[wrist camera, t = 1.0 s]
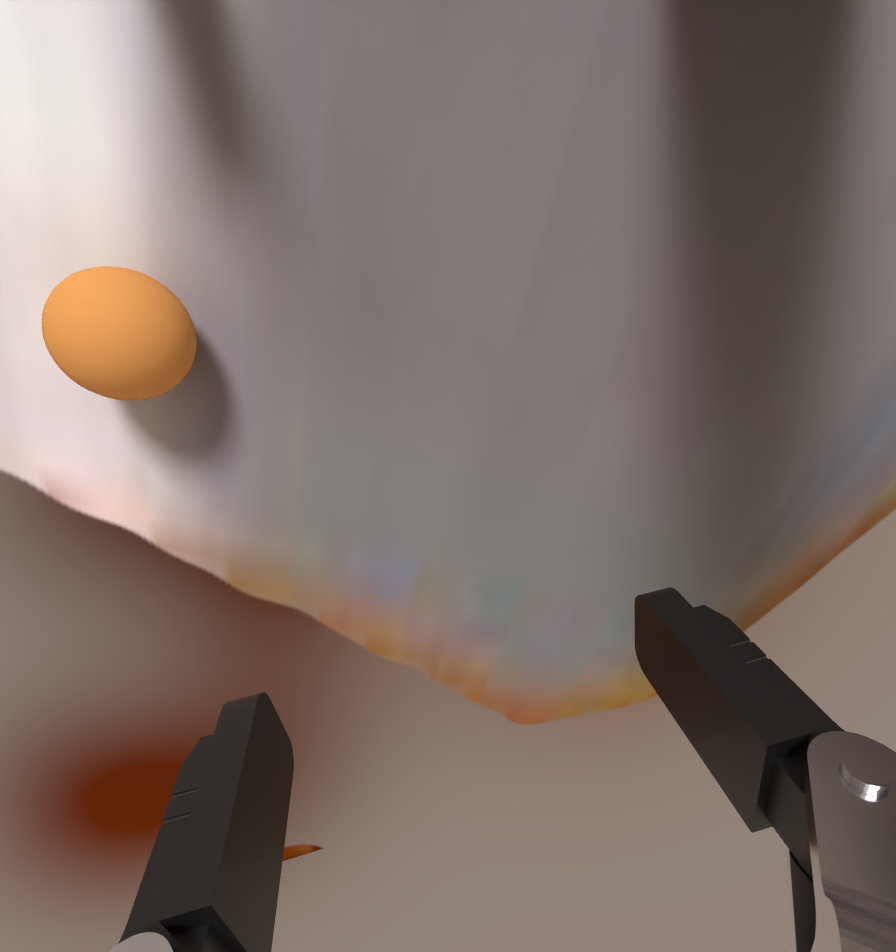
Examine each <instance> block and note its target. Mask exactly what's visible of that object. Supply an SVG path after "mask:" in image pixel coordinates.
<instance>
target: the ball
mask: <svg viewBox="0 0 896 952" xmlns="http://www.w3.org/2000/svg"><path fill="white" fill-rule="evenodd" d="M42 332H43V338H44V341H45V344H46V347H47V349H48V351H49V353H50V355H51V357H52V358H53V360H54V361H55V363H56V364H57V365H58V367H59V368H60V369H61V370H62V371H63V372H64V373H65V374H66V375H67V376H68V377H69V378H71V379H72V380H73V381H74V382H76V383H77V384H79V385H80V386H82V387H84V388H85V389H87V390H89V391H92V392H94V393H96V394H99V395H102V396H105V397H108V398H113V399H119V400H144V399H148V398H152V397H156V396H159V395H161V394H164V393H166V392H167V391H169V390H171V389H172V388H174V387H175V386H177V385H178V384H179V383H180V382H181V381H182V380H183V379H184V378H185V376H186V375H187V374H188V372H189V370H190V369H191V367H192V364H193V362H194V358H195V354H196V347H197V342H196V333H195V329H194V325H193V322H192V320H191V318H190V315H189V313H188V312H187V310H186V308H185V307H184V305H183V304H182V303H181V301H180V300H179V299H178V298H177V297H176V296H175V295H174V294H173V293H172V292H171V291H170V290H169V289H168V288H167V287H165V286H164V285H163V284H161V283H160V282H158V281H157V280H155V279H153V278H151V277H149V276H147V275H145V274H142V273H140V272H137V271H134V270H130V269H127V268H121V267H106V266H103V267H93V268H89V269H85V270H82V271H79V272H77V273H74V274H72V275H70V276H69V277H67V278H65V279H64V280H63V281H62V282H60V283H59V284H58V285H57V286H56V287H55V288H54V290H53V291H52V292H51V294H50V295H49V297H48V299H47V301H46V303H45V306H44V309H43V314H42Z"/></svg>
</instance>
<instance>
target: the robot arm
mask: <svg viewBox="0 0 896 952" xmlns="http://www.w3.org/2000/svg"><path fill="white" fill-rule="evenodd" d="M635 650H636V655H637V658H638V661H639V664H640V666H641V669H642V671H643V673H644V674H645V676H646V678H647V679H648V681H649V682H650V683H651V685H652V686H653V688H654V689H655V691H656V692H657V694H658V695H659V697H660V698H661V700H662V701H663V703H664V704H665V705H666V707H667V708H668V710H669V711H670V713H671V714H672V716H673V717H674V719H675V720H676V722H677V723H678V725H679V726H680V728H681V729H682V730H683V732H684V733H685V735H686V736H687V738H688V739H689V741H690V742H691V744H692V745H693V747H694V748H695V750H696V751H697V752H698V754H699V756H700V757H701V759H702V760H703V762H704V763H705V765H706V766H707V768H708V769H709V770H710V772H711V773H712V775H713V776H714V778H715V779H716V781H717V782H718V784H719V785H720V787H721V788H722V789H723V791H724V792H725V794H726V795H727V797H728V798H729V800H730V801H731V803H732V804H733V806H734V807H735V809H736V810H737V812H738V813H739V815H740V816H741V817H742V819H743V820H744V822H745V823H746V825H747V826H748V828H749V829H750V831H751V832H752V833H753V832H756V831H759V830H762V829H765V828H769V827H772V826H773V827H774V829H775V830H776V832H777V833H778V834H779V836H780V837H781V838H782V840H783V841H784V843H785V869H786V884H787V900H788V915H789V930H790V946H791V952H896V752H894V751H893V750H891V749H889V748H888V747H886V746H885V745H883V744H881V743H879V742H877V741H875V740H873V739H870V738H868V737H866V736H862V735H859V734H855V733H850V732H846V731H844V730H843V729H841V728H840V727H839V726H838V725H837V724H836V723H835V722H834V721H832V719H830V717H829V716H827V714H825V713H824V712H823V711H822V710H821V709H820V708H819V707H818V706H817V705H816V704H815V703H814V702H813V701H812V700H811V699H810V698H809V697H808V696H807V695H806V694H805V693H804V692H803V691H802V690H801V689H800V688H799V687H798V686H797V685H796V684H795V683H794V682H793V681H792V680H791V679H790V678H789V677H788V676H787V675H786V674H785V673H784V672H783V671H782V670H781V669H780V668H779V667H778V666H777V665H776V664H775V663H774V662H773V661H772V660H771V659H767V657H766V654H765V653H764V652H762V650H761V649H760V648H759V647H757V646H756V645H755V643H753V642H752V643H751V642H750V640H749V638H748V637H747V636H746V635H745V634H744V633H743V632H742V631H741V630H740V629H739V628H738V627H737V626H736V625H735V624H734V623H733V622H732V621H731V620H730V619H729V618H727V617H725V616H723V615H721V614H720V613H718V612H716V611H714V610H712V609H710V608H709V607H707V606H705V605H702V606H698V607H694V608H693V607H692V606H691V605H690V604H689V603H688V602H687V601H686V600H685V599H684V598H683V597H682V596H681V594H680V593H679V592H678V591H676V590H675V589H674V588H670V587H669V588H665V589H662V590H658V591H654V592H650V593H646V594H642V595H639V596H637V597H636V598H635ZM293 767H294V760H293V750H292V745H291V742H290V739H289V737H288V735H287V732H286V731H285V728H284V726H283V724H282V722H281V720H280V718H279V716H278V714H277V712H276V710H275V708H274V706H273V704H272V702H271V700H270V698H269V696H268V695H267V694H266V693H259V694H255V695H251V696H248V697H244V698H240V699H236V700H233V701H228V702H226V703H225V704H224V706H223V707H222V710H221V713H220V716H219V719H218V723H217V726H216V730H215V733H214V734H212V735H208V736H204V737H201V738H200V739H199V741H198V742H197V744H196V745H195V747H194V748H193V749H192V751H191V752H190V754H189V755H188V757H187V758H186V760H185V761H184V763H183V764H182V766H181V768H180V771H179V774H178V777H177V780H176V783H175V786H174V789H173V792H172V800H170V801H169V803H168V806H167V809H166V812H165V815H164V818H163V822H164V823H163V826H161V827H160V829H159V832H158V835H157V838H156V841H155V844H154V847H153V850H152V853H151V856H150V859H149V861H148V864H147V867H146V870H145V873H144V876H143V879H142V882H141V885H140V887H139V891H138V893H137V896H136V899H135V902H134V905H133V908H132V911H131V914H130V917H129V920H128V922H127V925H126V928H125V930H124V933H123V935H122V938H121V939H120V941H119V943H118V945H116V946H115V947H114V948H112V949H111V950H110V951H109V952H271V946H272V939H273V931H274V922H275V915H276V907H277V899H278V891H279V883H280V874H281V867H282V859H283V851H284V843H285V835H286V827H287V819H288V811H289V803H290V795H291V787H292V779H293V769H294V768H293Z"/></svg>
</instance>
